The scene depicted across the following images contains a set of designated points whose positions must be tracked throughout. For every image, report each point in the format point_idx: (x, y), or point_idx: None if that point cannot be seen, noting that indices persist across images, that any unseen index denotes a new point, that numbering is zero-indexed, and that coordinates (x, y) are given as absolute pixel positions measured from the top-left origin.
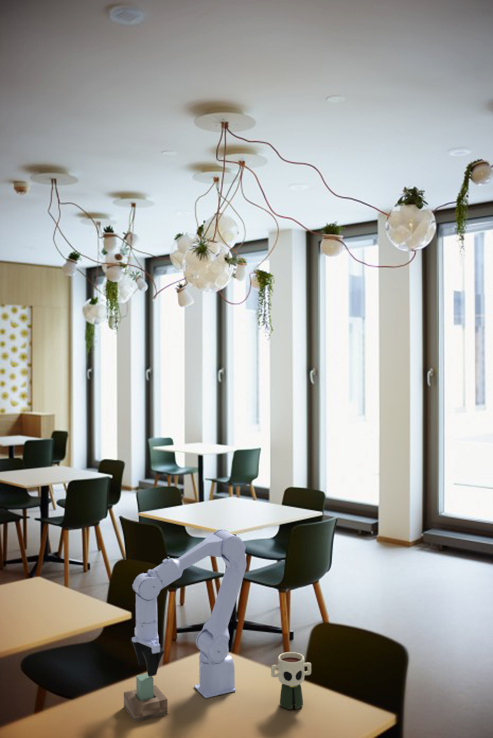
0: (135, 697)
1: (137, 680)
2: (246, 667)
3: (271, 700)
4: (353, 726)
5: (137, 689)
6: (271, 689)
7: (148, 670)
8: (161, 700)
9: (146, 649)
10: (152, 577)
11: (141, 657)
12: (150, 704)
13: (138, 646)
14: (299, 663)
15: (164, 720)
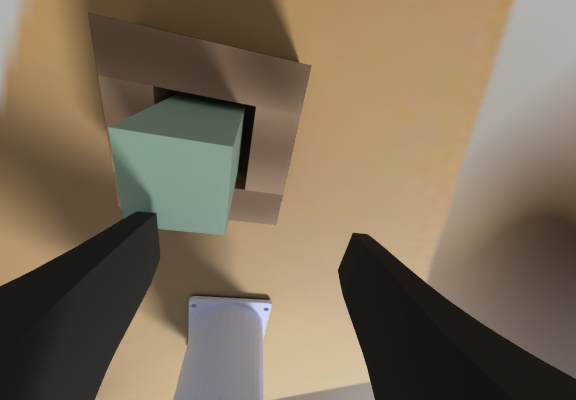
0: (211, 89)
1: (205, 133)
2: (280, 386)
3: (110, 375)
4: None
5: (220, 118)
6: (161, 387)
7: (94, 240)
8: (115, 181)
9: (379, 377)
10: None
11: (370, 288)
12: (109, 122)
13: (448, 391)
14: None
15: (101, 145)
